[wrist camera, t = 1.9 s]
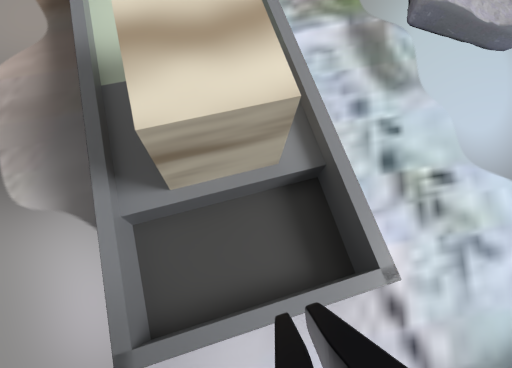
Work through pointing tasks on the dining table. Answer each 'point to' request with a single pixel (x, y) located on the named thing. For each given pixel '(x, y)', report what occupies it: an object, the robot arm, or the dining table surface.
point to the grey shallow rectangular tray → (217, 217)
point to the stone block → (465, 21)
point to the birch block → (205, 85)
